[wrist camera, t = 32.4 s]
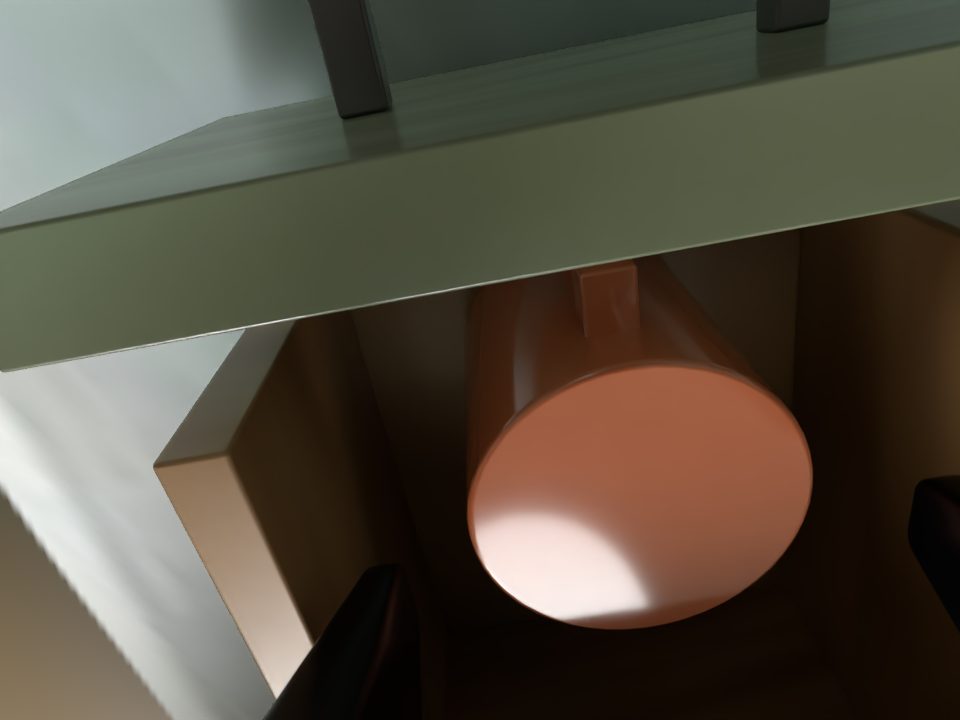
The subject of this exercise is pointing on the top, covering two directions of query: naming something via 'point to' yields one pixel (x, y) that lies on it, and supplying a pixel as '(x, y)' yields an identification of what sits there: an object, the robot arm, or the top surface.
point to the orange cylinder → (622, 449)
